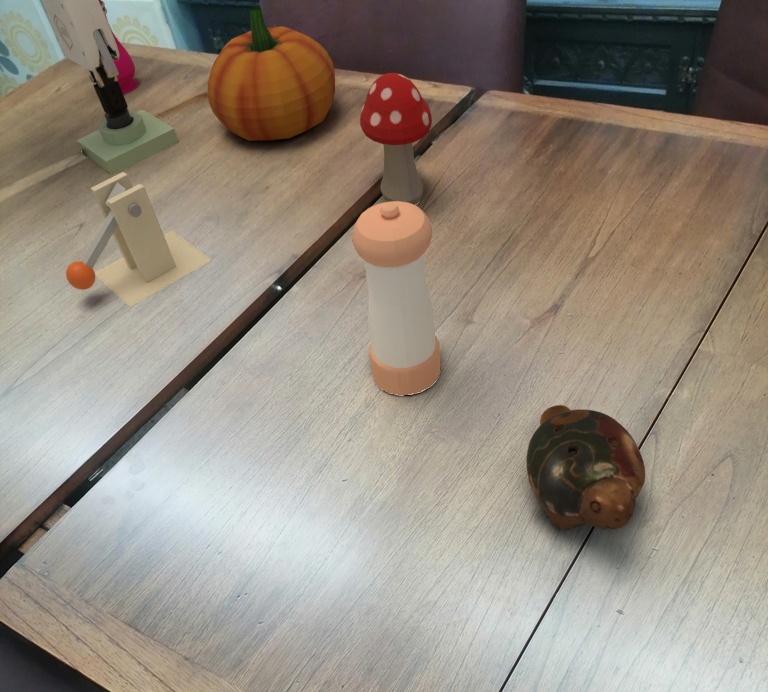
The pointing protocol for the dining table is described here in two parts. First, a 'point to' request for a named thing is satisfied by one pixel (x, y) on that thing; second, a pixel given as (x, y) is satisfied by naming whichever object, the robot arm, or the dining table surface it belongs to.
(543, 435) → the decorative turtle
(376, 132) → the decorative mushroom
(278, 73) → the pumpkin
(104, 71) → the robot arm
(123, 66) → the pepper mill
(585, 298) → the dining table surface
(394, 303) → the salt shaker
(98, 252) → the switch lever
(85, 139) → the control block
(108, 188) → the wooden pivot stand
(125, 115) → the button
